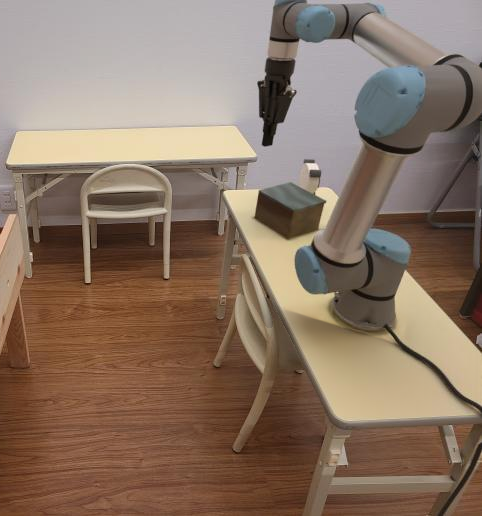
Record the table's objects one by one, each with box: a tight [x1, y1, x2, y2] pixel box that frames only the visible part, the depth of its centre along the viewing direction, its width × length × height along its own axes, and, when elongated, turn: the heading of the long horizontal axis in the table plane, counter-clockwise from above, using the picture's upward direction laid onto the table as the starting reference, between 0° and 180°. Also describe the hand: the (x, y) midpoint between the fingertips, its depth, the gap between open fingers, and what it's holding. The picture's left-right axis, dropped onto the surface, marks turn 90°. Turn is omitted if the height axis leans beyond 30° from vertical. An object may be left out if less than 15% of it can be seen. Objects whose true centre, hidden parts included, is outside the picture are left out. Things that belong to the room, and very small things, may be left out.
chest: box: [253, 192, 325, 240], centre depth 167 cm, size 14×17×10 cm
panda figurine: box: [298, 158, 322, 195], centre depth 179 cm, size 12×11×15 cm
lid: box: [258, 182, 327, 212], centre depth 164 cm, size 14×17×1 cm
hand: (266, 145), depth 141 cm, fingers closed
